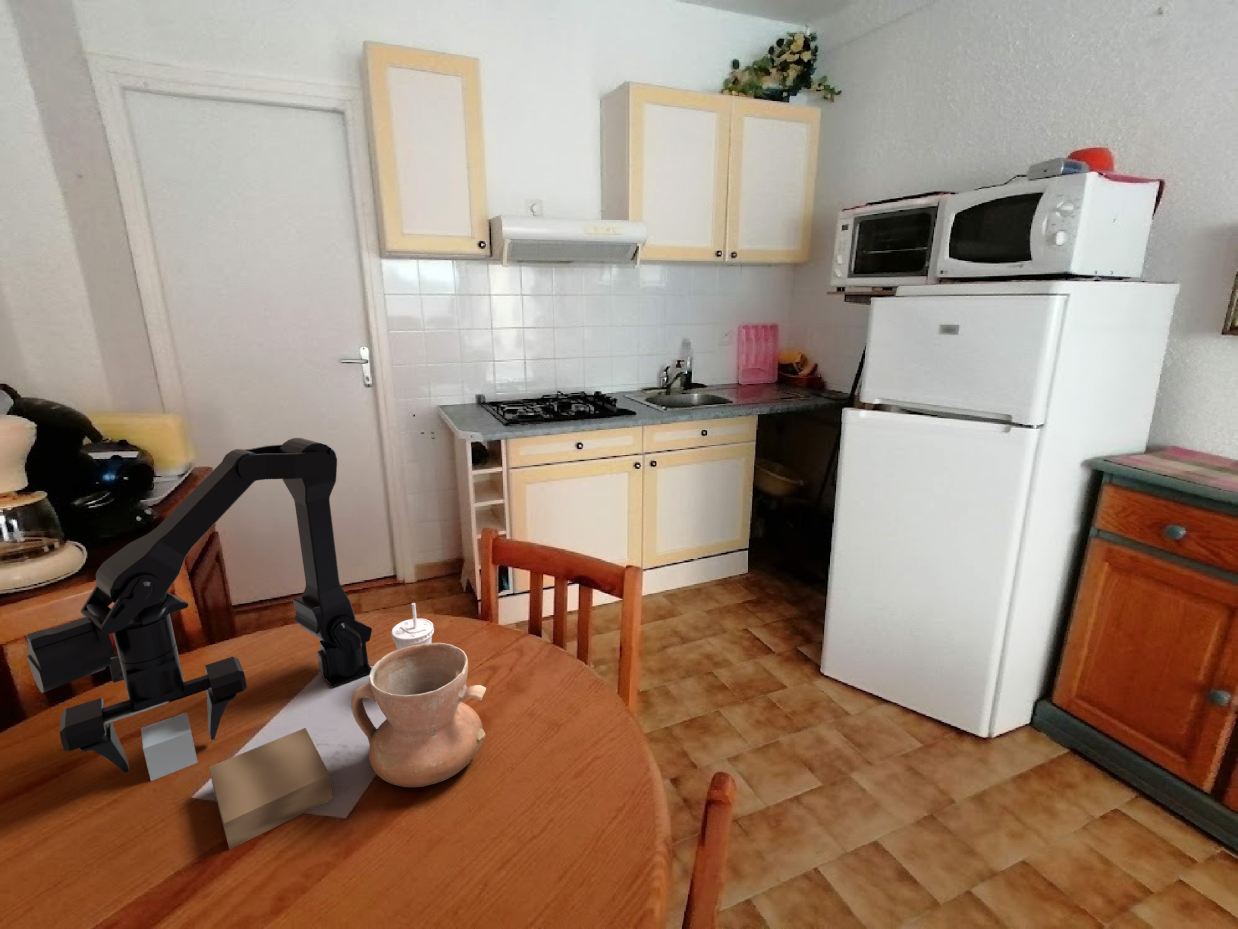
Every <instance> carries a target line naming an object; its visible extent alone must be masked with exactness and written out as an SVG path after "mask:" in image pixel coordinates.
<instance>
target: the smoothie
mask: <svg viewBox="0 0 1238 929" xmlns="http://www.w3.org/2000/svg"><path fill="white" fill-rule="evenodd" d="M416 608H417V604H416V603H415V602H412V603H411V612H412V618H411V619H407V620H403V621H400V622H399V623H397V624H395V625H394V626H393V627H392V630H391V640H392V641H393V642H394V645H395V648H396V650H399V649H402V648H405V647H410V646H413V645H421V644H430V643H433V642H432V639H433V635H434V632H435V628H434V623H433V622H432V621H430V620H428V619H426V618H418V617H417V609H416Z"/></svg>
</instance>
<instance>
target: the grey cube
mask: <svg viewBox="0 0 1238 929" xmlns="http://www.w3.org/2000/svg"><path fill="white" fill-rule="evenodd" d="M140 731H141V741H142V750H143V754H144V758H145V762H146V766H147V771H148V775H149V779H150V782H152V781H154V780H158V779H161V778H163V777H165V776H168V775H170V774H172V773H175V772H178V771H180V770H183V769H186V768H187V767H190V766H193V765H195V764H198V762H199V761H198V757H197V752H196V748H195V743H194V738H193V734H192V728H191V725H190V720H189V716H188V712H183V713H180V714H177V715H175V716H172V717H168V718H166V719H162V720H161V721H157V722H153V723H152V724H149V725H146V726H143V727H141V728H140Z"/></svg>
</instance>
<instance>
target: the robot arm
mask: <svg viewBox="0 0 1238 929" xmlns="http://www.w3.org/2000/svg"><path fill="white" fill-rule="evenodd" d="M337 471H338V458H337V453H336V451H335V450H334V449H333V448H332V447H330V446H329V445H328V444H324V443H321V442H317V441H314V440H310V439H306V438H303V437H293V438H290V439H287V440H286V441H285V442H283V443H282V444H271V445H263V446H258V447H254V448H245V449H243V448H240V449H239V448H236V449H233V450H230V451H229V452H227V453H226V455H224V457H223V459H222V460H221V462H220V463H219V464H218V465H217V466H216V467H215V468H214V469H213V470H212V471H211V472H210V473H209V474H208V475H207V476H206V477H205V478H204V479H203V480H202V481H201V482H200V483H199V484H198V485H197V486H196V487H195V488H194V489H193V490H192V492H191V493H189V494H188V495H187V496H186V498H184V499H183V500H182V501H181V502H180V503H179V504H178V506H176V507H175V508H174V509H173V511H172V512H171V513H170V514H168V516H167V517H166V518H165V519H164V520H163V521H162V522H161V523H160V524H159V525H157V527H156V528H154V529H152V530H151V531H150V532H149V533H147V534H145V535H143V536H141V537H139V538H137V539H135V540H133V541H131V542H129V543H128V544H126V545H125V546H123V547H122V548H121V549H120V550H118V551H117V552H115V553H114V554H112V555H111V556H110V557H109V558H107V559H106V560H105V561H103V562H102V564H101V565H100V566H99V567H98V569H97V571H96V572H95V581H96V585H95V587H94V588H93V590H92V592H91V593H90V595H89V597H88V598H87V600H86V601H85V603H84V604H83V606H82V608H81V609H80V614H81V615H82V616H83V618H79V619H77V620H73V621H70V622H67V623H64V624H61V625H58V626H55V627H50V628H46V629H45V628H44V629H40V630H37V631H33V632H31V633H28V634H27V635H26V641H27V653H28V655H26V659H27V662H28V665H29V669H30V671H31V674H32V677H33V679H34V682H35V683H36V686H37V688H38V689H39V692H40V693H42V694H43V693H46V692H48V691H51V690H54V689H56V688H59V687H61V686H65V685H67V684H69V683H72V682H74V681H75V682H76V681H77V680H78V681H79V680H80V679H84V678H85V677H88V676H91V675H93V674H94V675H95V674H96V673H99V672H101V671H105V670H106V668H107V667H109V671H110V675H111V681H112V683H114V684H116V683H118V682H122V681H124V683H125V688H126V693H127V697H128V700H127V699H126V700H124V701H121V702H118V703H114V704H112V705H108V706H106V707H105V703H104V699H103V697H99V698H95V699H93V700H90V701H87V702H83V703H80V704H77V705H74V706H70V707H67V708H65V710H64V711H63V712H62V713H61V714H60V724H59V736H60V738H59V739H60V742H61V745H62V749H63V751H64V752H72V751H75V750H77V749H79V751H80V752H81V753H87V752H88V751H93V752H94V753H96V754H98V755H100V756H101V757H104V758H105V759H107V760H108V761H109V762H111V763H112V764H114V766H116V767H117V768H118V769H120V771H122V772H123V773H124V774H128V773H130V766H129V761H128V756H127V754H126V752H125V750H124V747H123V745H122V743H121V741H120V739H119V735H117V732H116V730H115V726H114V722H116V721H120V720H123V719H125V718H129V717H131V716H134V715H137V714H141V713H143V712H146V711H147V712H148V711H149V710H151V709H155V708H158V707H161V706H164V705H167V704H169V703H172V702H175V701H178V700H181V699H185V698H187V697H190V696H193V695H195V694H199V693H202V692H205V691H206V692H205V693H206V699H207V700H206V704H207V706H206V707H207V726H208V728H207V729H208V732H209V737H210V740H211V741H214V740H216V737H217V732H218V730H219V728H220V723H221V720H222V718H223V717H222V716H223V715H224V713H225V711H226V708H228V707H227V706H228V704H229V703H230V702H231V701H233V700H236V699H237V696H238V695H237V694H240V693H241V692H244V691H245V690H246V689H248V686H247V680H246V679H247V678H246V675H245V671H244V669H243V666H242V664H241V661H240V659H239V658H237V657H236V656H231V657H227V658H223V659H221V660H217V661H215V662H211V663H208V664H205V665H204V668H205V669H204V670H205V673H206V674H205V675H201V676H198V677H196V678H192V679H190V680H186V681H185V680H184V673H183V669H182V668H183V667H182V664H181V663H182V662H181V660H180V657H179V656H180V655H179V651H178V646H177V643H176V642H177V641H176V638H175V633H174V627H173V623H172V619H171V614H174V613H176V612H177V613H178V612H179V611H182V610H185V609H187V608H188V607H189V605H190V604H189V603H188V602H187V601H185V600H184V599H183V598H181V597H180V596H179V595H176V594H172V593H171V592H169V590H170V588H171V587H172V585H174V582H175V581H176V580H177V579H178V577H179V575H180V573H181V571H182V569H183V565H184V563H185V561H186V558H187V556H188V554H189V553H190V552H191V550H192V549H193V547H195V546H196V544H198V542H199V541H201V539H202V538H203V537H204V536H205V535H206V534H207V533H208V531H210V529H212V527H214V525H215V524H216V523H217V522H218V521H219V520H220V519H221V518H222V517H223V515H225V513H226V512H227V511H229V509H230V508H231V507H232V506H233V505H234V504H235V503H236V502H237V501H238V499H240V497H242V496H243V494H244V493H245V492H246V491H247V490H248V489H249V488H250V487H251V486H252V485H253V484H254V483H255V482H256V481H257V482H258V481H263V480H264V481H265V480H282V481H283V483H284V485H285V486H286V488H287V490H288V491H289V493H290V495H291V496H292V499H293V501H294V508H295V513H296V514H295V515H296V522H297V529H298V535H299V543H300V544H299V545H300V551H301V559H302V565H303V571H304V572H303V573H304V579H305V580H304V581H305V587H304V589H303V590H304V591H303V593H302V595H301V596H299V597H294V598H293V599H292V603H293V606H294V609H295V617H294V622H296V623H298V624H299V625H300V626H301V628H303V630H305V631H306V632H308V633H310V634H311V635H313V636H315V637H316V638H318V639H319V646H320V650H318V651H317V660H318V667H319V673H320V676H321V677H322V678H323V680H324V681H327V683H328V685H329V686H330V688H335V687H338V686H340V685H343V684H345V683H349V682H351V681H354V680H356V679H359V678H361V677H364V676H368V675H370V671H371V669H372V667H371V665H370V664H369V658H368V651H367V650H368V649H367V643H369V641H370V640H371V636H372V633H373V628H372V627H371V626H369V625H367V624H365V623H364V622H362V621H360V620H358V619H356V615H355V612H354V609H353V606H352V602H351V600H350V598H349V597H348V595H347V594H346V592H345V590H344V589H343V586H342V585H341V583H340V575H339V566H338V560H337V559H338V558H337V557H338V556H337V550H336V543H335V535H334V533H335V532H334V527H333V526H334V525H333V518H332V517H333V516H332V511H331V510H332V509H331V502H330V500H331V495H332V493H333V491H334V490H333V489H334V487H335V485H336V482H337V474H338V473H337ZM112 603H114V604H113V605H112ZM110 605H112V606H111V607H110ZM111 634H113V639H114V643H115V647H116V650H117V655H115V650H114V646H113V642H112V639H111V637H110V635H111Z"/></svg>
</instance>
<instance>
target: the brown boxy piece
mask: <svg viewBox="0 0 1238 929" xmlns="http://www.w3.org/2000/svg"><path fill="white" fill-rule="evenodd" d="M208 768H209V772H210V779H211V782H212V788H213V792H214V793H213V794H214V796H215V800H216V805H217V808H218V811H219V815H220V818H221V822H222V826H223V831H224V835H225V838H226V842H227V846H228V849H229V850H232V849H234V848H236V847H238V846H240V845H242V844H244V843H246V842H248V841H250V840H252V839H255V838H256V837H258V836H260V835H262V834H264V833H266V832H268V831H270V830H273V829H274V828H276V827H277V828H278V826H281V825H282V824H284V823H285V824H286V823H287V822H289V821H291V820H293V819H295V818H297V817H300V816H302V815H303V814H305V813H308V812H310V811H311V810H313V809H315V808H318V807H320V806H322V805H324V804H326V803H328V802H330V801H332V800H334V797H333V789H332V784H331V775H330V773H329V771H328V769H327V767H326V765H325V763H324V761H323V759H322V757H321V755H320V754H319V751H318V749H317V748H316V746H315V743H314V741H313V739H312V737H311V736H310V734H309V732H308V730H307V728H306V727H303V728H302V729H299V730H296V731H294V732H292V733H289V734H287V735H285V736H282V737H279V738H277V739H274V740H272V741H269V742H267V743H264V744H262V745H259V746H257V747H255V748H253V749H249V750H247V751H244V752H242V753H240V754H238V755H235V756H233V757H230V758H227V759H225V760H223V761H221V762H218V763H214V764H212V765H211V766H209V767H208ZM327 801H328V802H327ZM323 803H324V804H323ZM321 804H322V805H321Z"/></svg>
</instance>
